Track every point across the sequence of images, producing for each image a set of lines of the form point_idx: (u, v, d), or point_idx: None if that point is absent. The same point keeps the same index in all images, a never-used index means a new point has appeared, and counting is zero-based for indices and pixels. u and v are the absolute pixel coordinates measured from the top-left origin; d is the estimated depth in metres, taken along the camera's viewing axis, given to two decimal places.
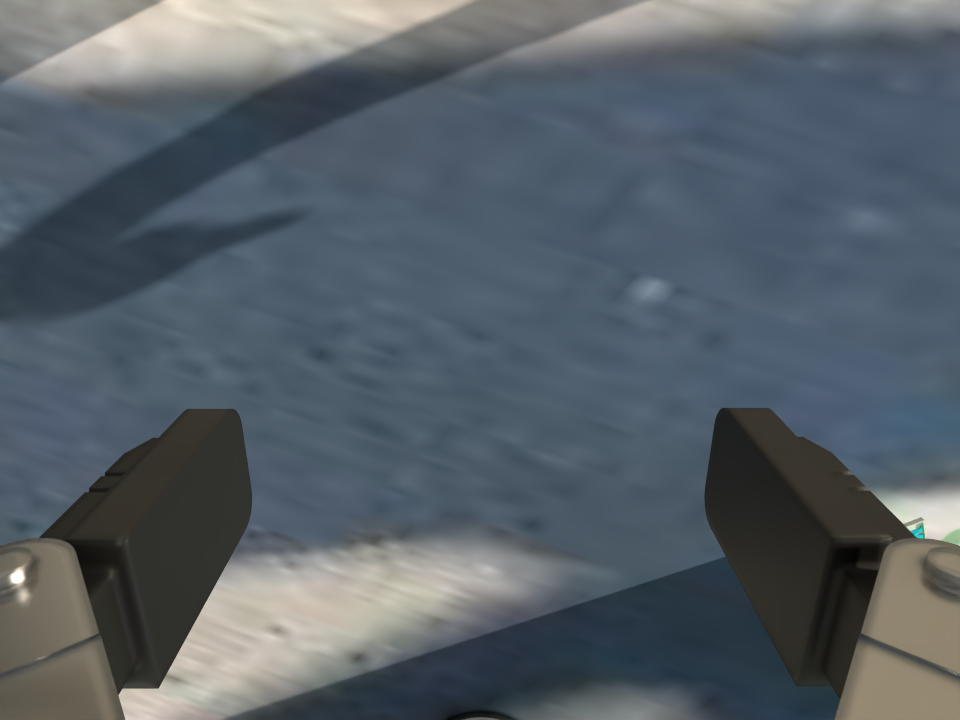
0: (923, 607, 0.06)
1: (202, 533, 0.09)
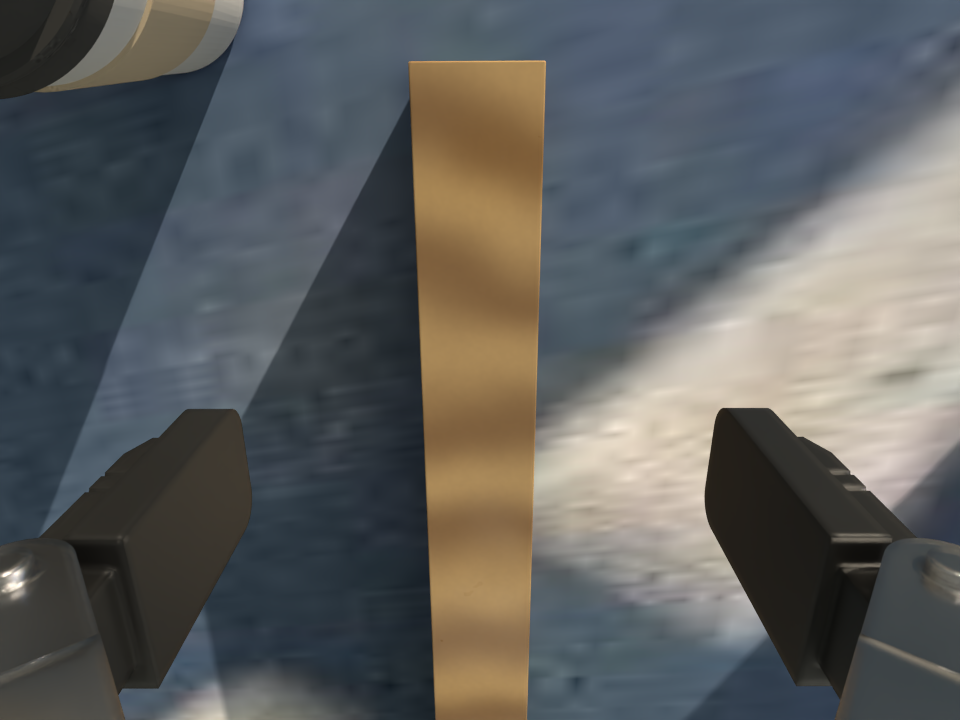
0: (923, 607, 0.06)
1: (202, 533, 0.09)
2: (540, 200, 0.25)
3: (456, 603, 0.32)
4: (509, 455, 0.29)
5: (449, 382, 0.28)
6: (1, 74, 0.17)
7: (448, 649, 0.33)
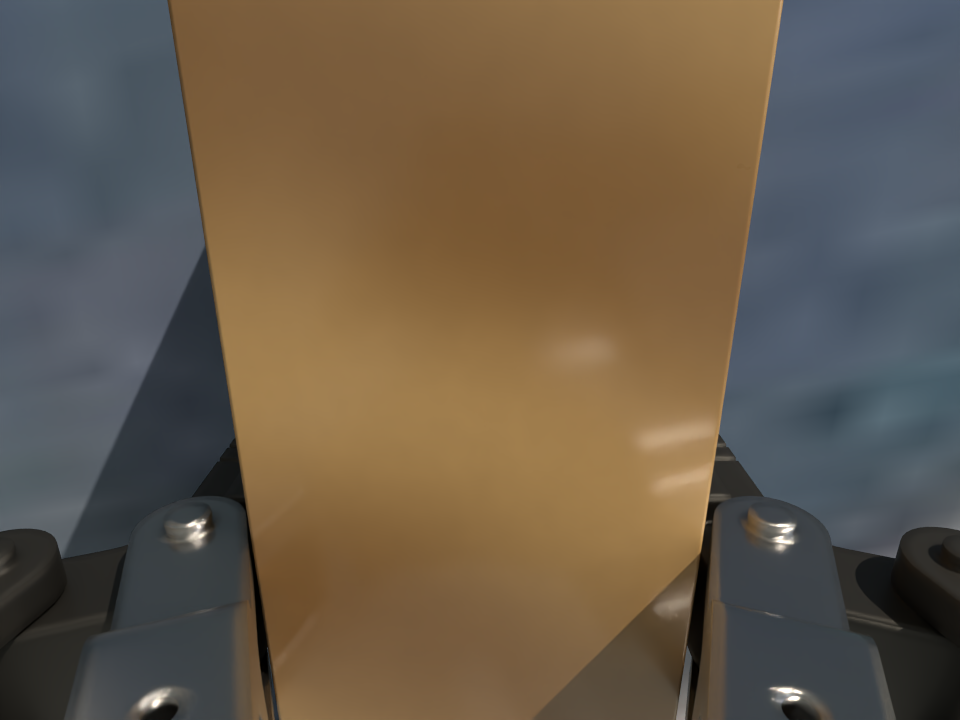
0: (754, 561, 0.07)
1: None
2: (719, 409, 0.06)
3: None
4: None
5: None
6: None
7: None
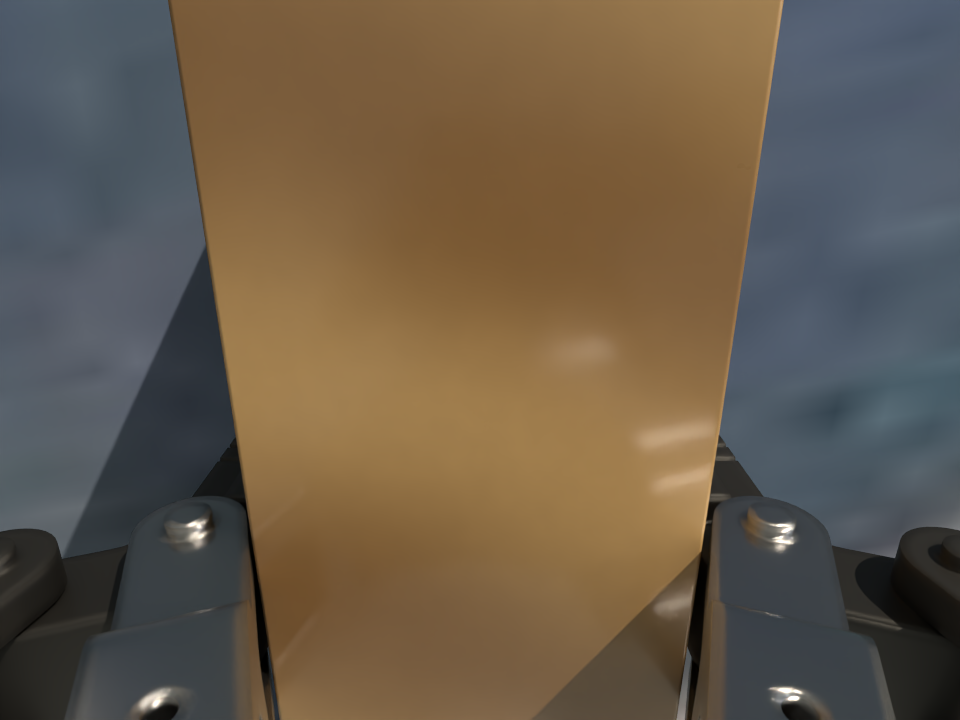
0: (753, 561, 0.07)
1: None
2: (719, 409, 0.06)
3: None
4: None
5: None
6: None
7: None
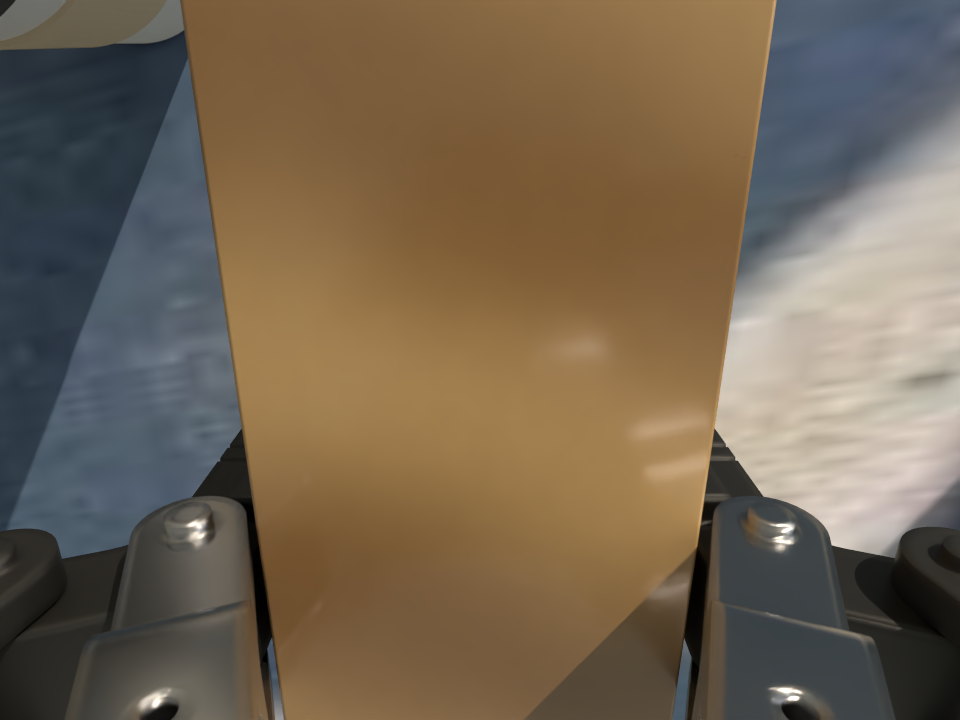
0: (753, 561, 0.07)
1: None
2: (716, 395, 0.07)
3: None
4: None
5: None
6: None
7: None
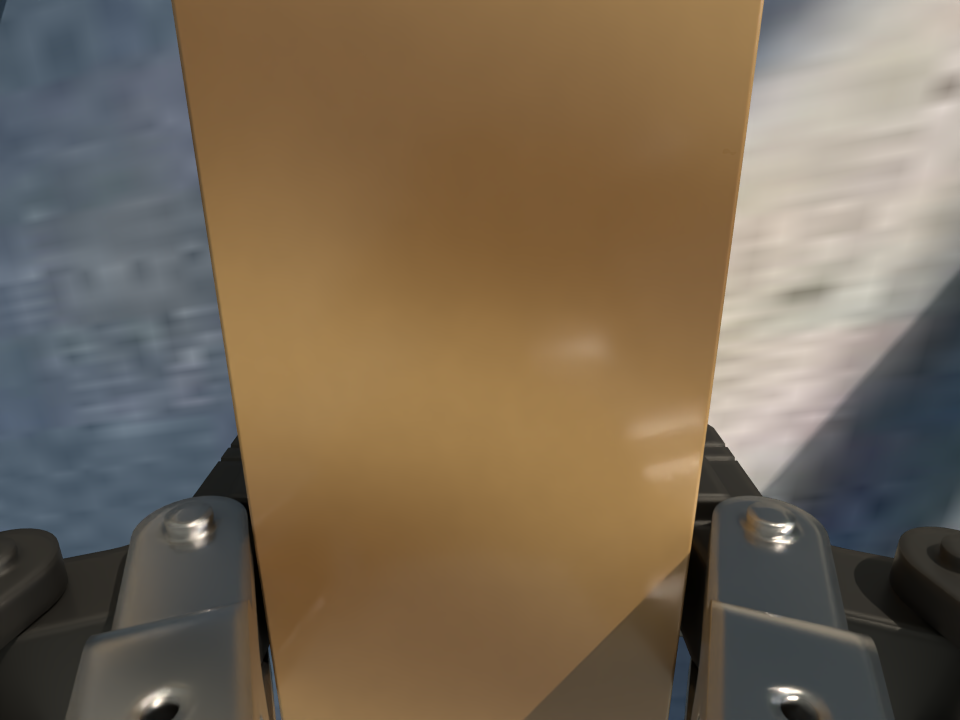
0: (752, 561, 0.07)
1: None
2: (708, 391, 0.07)
3: None
4: None
5: None
6: None
7: None
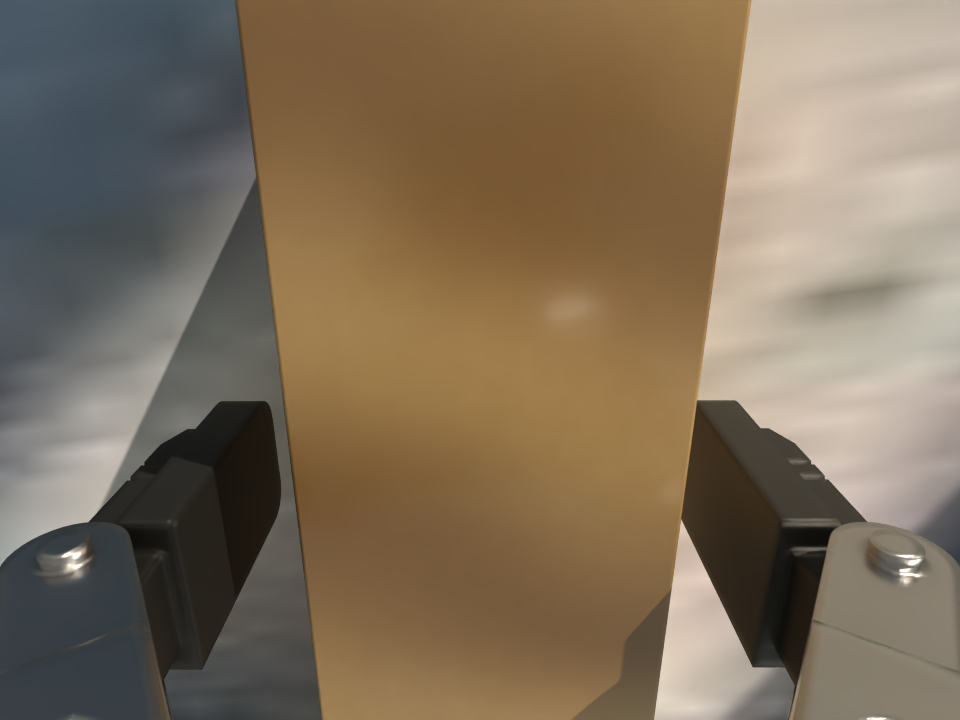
0: (868, 589, 0.06)
1: (239, 521, 0.10)
2: (700, 353, 0.07)
3: None
4: None
5: None
6: None
7: None
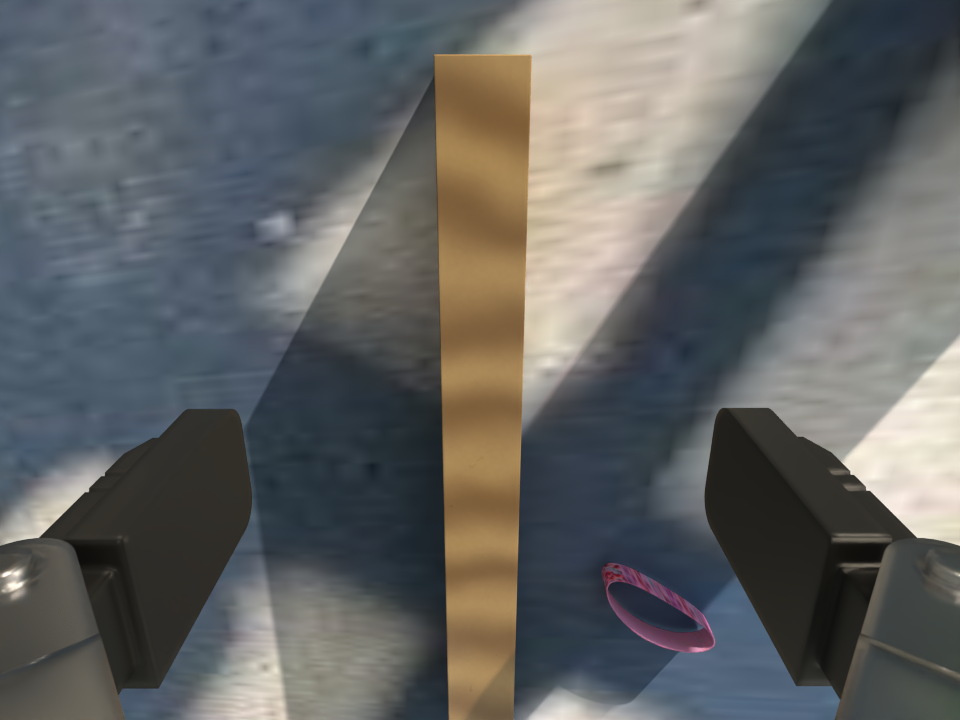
0: (923, 607, 0.06)
1: (202, 533, 0.09)
2: (527, 156, 0.35)
3: (463, 474, 0.42)
4: (504, 353, 0.39)
5: (460, 295, 0.37)
6: None
7: (456, 513, 0.43)
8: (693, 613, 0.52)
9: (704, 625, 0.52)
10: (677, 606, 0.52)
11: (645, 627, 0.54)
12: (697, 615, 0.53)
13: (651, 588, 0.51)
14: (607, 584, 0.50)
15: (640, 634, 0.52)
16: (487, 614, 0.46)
